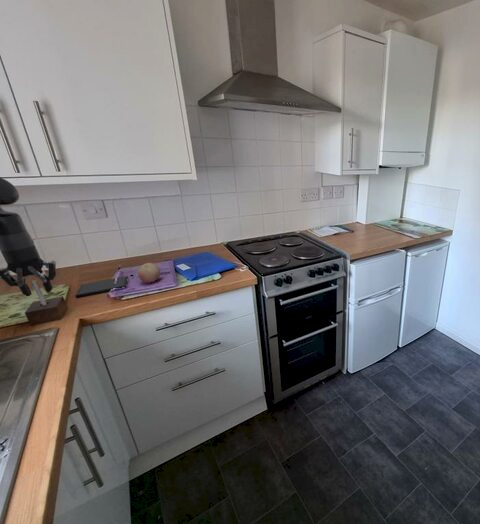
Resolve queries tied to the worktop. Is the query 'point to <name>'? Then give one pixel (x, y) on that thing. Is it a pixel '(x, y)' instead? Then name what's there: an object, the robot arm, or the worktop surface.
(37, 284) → the stylus
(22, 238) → the robot arm
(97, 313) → the worktop surface
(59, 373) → the worktop surface
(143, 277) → the fruit
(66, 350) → the worktop surface
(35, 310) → the pen holder
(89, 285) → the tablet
